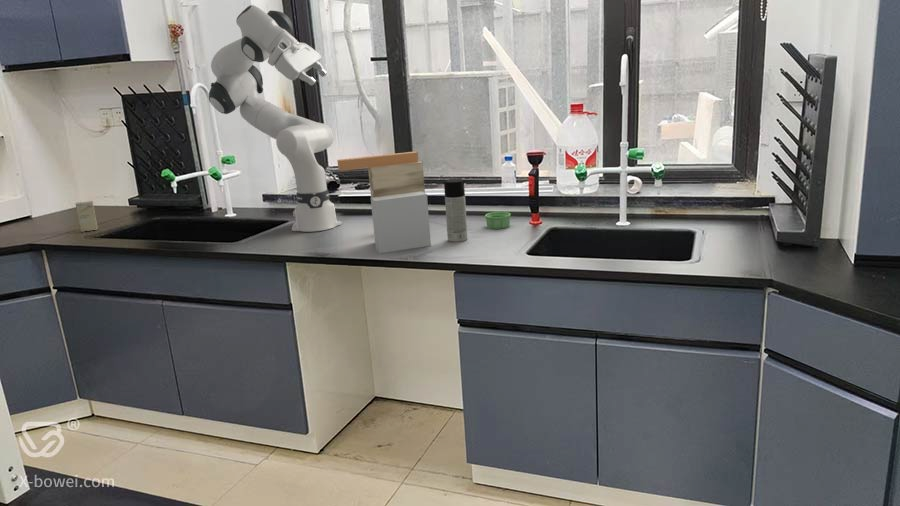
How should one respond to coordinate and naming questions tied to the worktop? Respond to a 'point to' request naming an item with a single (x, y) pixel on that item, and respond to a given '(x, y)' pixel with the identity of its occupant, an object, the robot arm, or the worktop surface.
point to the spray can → (455, 210)
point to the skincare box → (86, 216)
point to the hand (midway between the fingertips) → (319, 79)
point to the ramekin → (498, 220)
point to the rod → (377, 161)
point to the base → (401, 221)
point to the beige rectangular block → (396, 179)
